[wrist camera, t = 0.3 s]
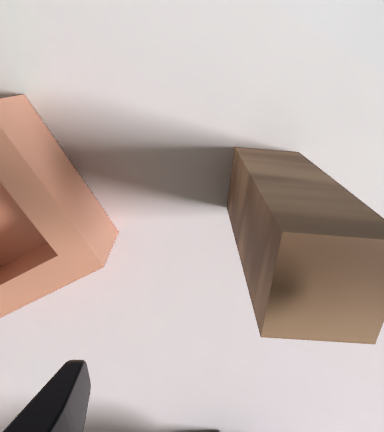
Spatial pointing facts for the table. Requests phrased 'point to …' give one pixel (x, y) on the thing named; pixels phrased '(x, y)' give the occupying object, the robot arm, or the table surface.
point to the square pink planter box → (43, 212)
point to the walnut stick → (306, 249)
